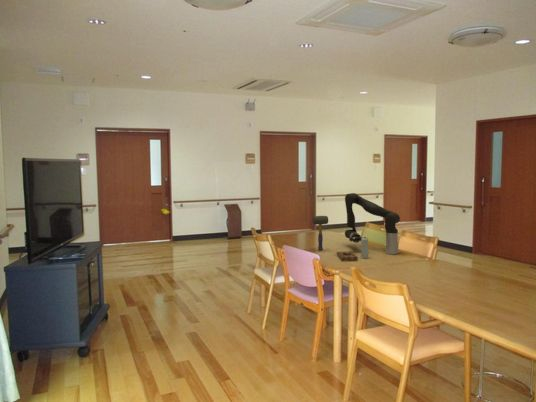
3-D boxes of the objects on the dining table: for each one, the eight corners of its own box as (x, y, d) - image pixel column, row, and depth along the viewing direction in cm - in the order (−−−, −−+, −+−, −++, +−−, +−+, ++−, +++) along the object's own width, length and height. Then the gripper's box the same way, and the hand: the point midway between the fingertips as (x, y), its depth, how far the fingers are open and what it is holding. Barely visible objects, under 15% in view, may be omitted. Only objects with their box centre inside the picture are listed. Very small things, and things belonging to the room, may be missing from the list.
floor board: (351, 255, 340) (351, 251, 339) (357, 260, 320) (357, 257, 320) (336, 255, 339) (336, 251, 339) (341, 261, 319) (342, 257, 319)
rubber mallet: (325, 249, 363) (326, 214, 360) (328, 251, 355) (328, 216, 352) (312, 250, 360) (312, 215, 357) (314, 251, 353) (314, 216, 350)
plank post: (366, 256, 333) (366, 238, 331) (367, 258, 328) (368, 239, 326) (361, 257, 333) (361, 238, 331) (362, 258, 328) (362, 239, 326)
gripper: (347, 232, 356) (351, 236, 340) (363, 232, 356) (369, 236, 340) (347, 241, 357) (351, 245, 340) (363, 241, 357) (368, 245, 341)
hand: (360, 241), depth 340 cm, fingers open, 8 cm apart
